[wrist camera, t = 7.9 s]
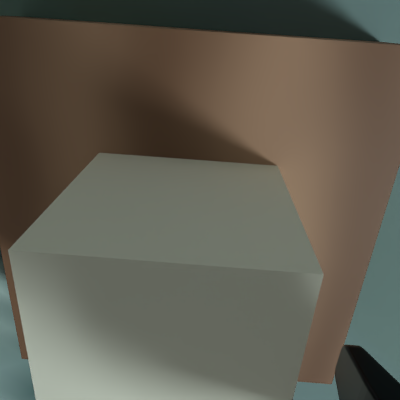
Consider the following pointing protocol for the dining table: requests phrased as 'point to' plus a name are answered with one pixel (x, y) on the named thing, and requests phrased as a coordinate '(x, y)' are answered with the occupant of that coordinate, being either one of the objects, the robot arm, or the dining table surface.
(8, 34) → the walnut block
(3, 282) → the dining table surface
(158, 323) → the sage cube
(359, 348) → the robot arm
